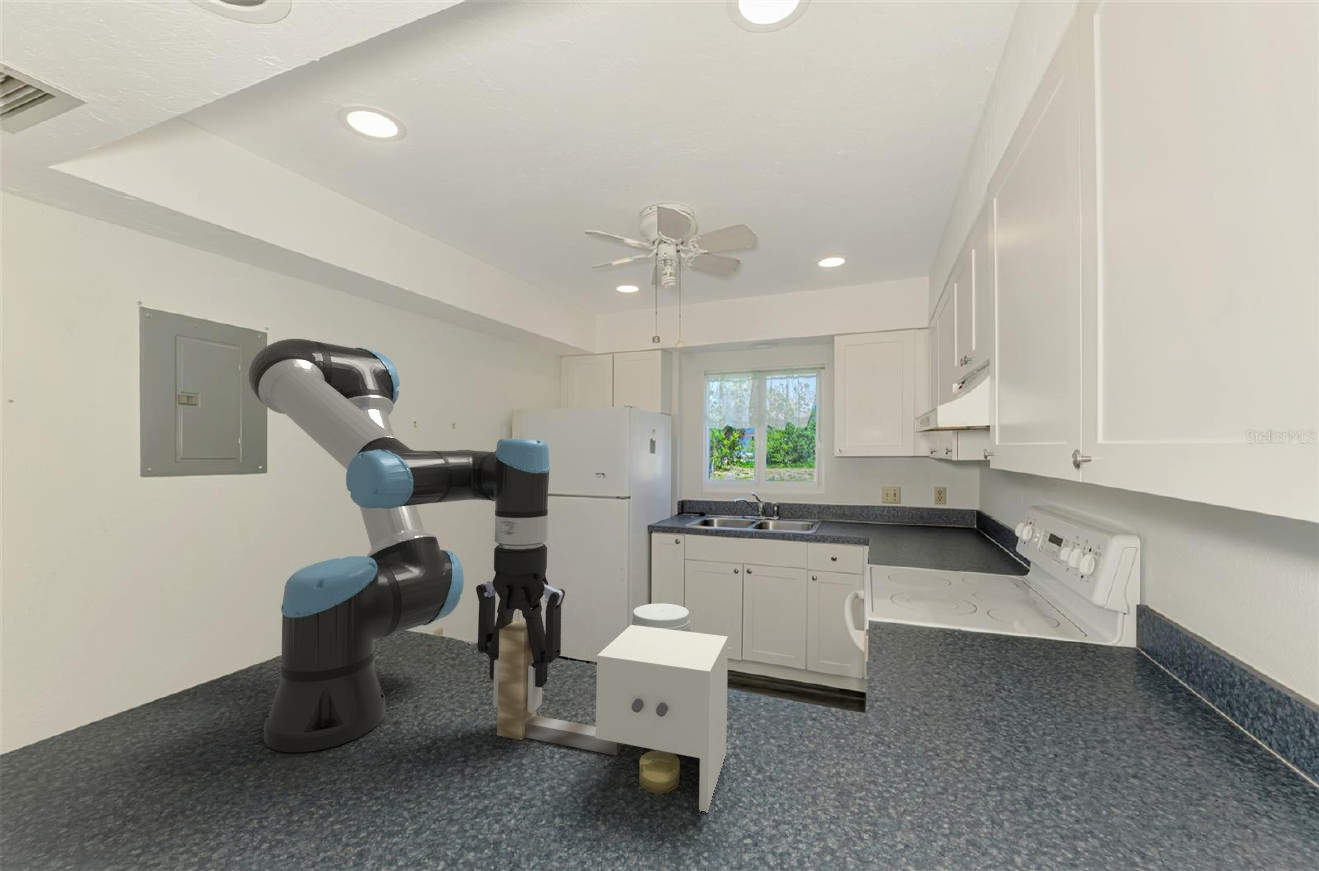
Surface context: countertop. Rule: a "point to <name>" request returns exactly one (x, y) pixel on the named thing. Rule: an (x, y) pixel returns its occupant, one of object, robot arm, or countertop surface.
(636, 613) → the supplement tub
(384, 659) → the countertop surface
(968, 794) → the countertop surface
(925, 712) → the countertop surface
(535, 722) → the scraper tool
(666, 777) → the cylinder
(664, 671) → the cabinet
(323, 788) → the countertop surface
